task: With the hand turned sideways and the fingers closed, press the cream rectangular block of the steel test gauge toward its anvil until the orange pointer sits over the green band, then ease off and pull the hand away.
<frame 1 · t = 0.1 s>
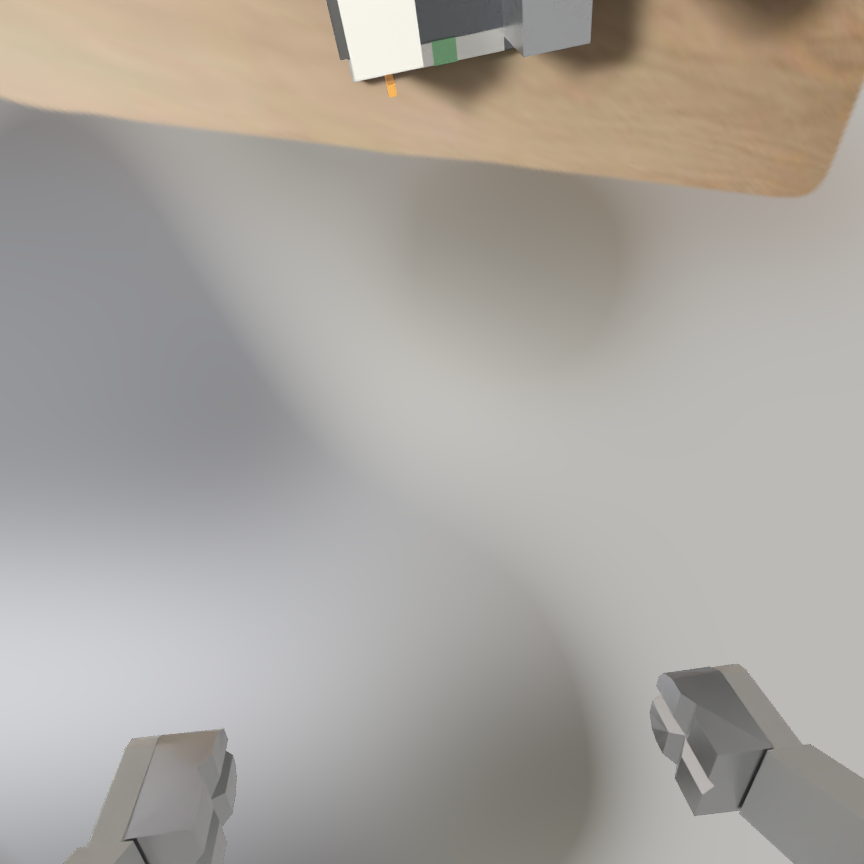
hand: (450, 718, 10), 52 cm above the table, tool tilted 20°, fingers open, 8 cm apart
cream rectangular block: (371, 9, 39), point 6 cm above the table, slide at 0.0 cm
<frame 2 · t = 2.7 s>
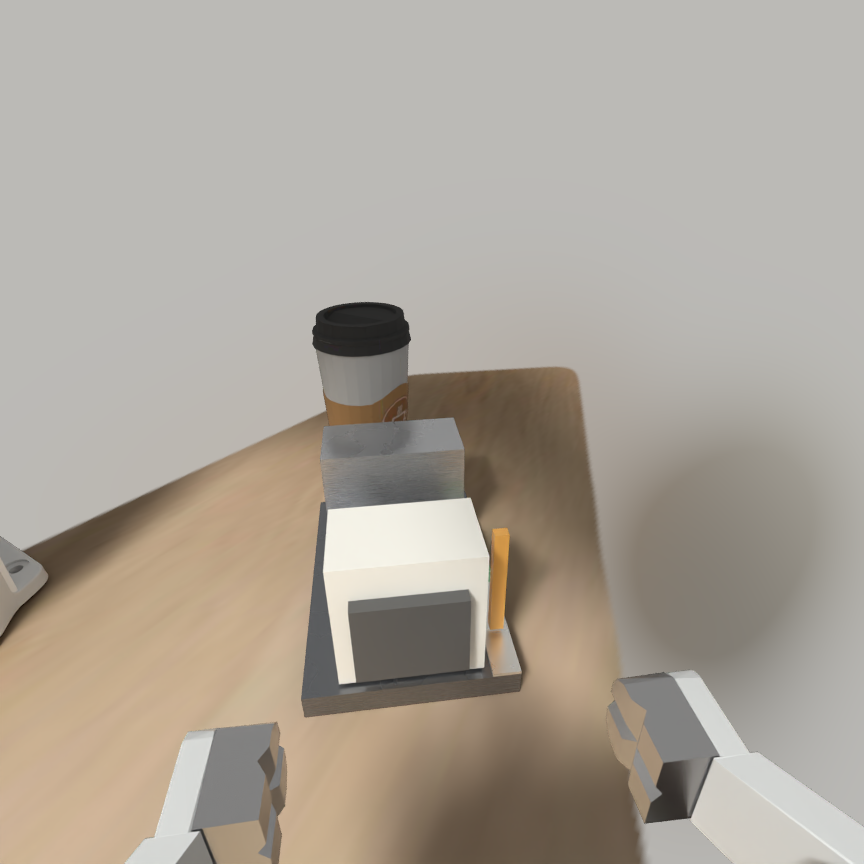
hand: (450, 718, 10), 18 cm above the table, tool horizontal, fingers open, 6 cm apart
coffee cup: (372, 468, 52), on the table
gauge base: (402, 587, 38), on the table
cream rectangular block: (421, 592, 30), point 6 cm above the table, slide at 0.0 cm
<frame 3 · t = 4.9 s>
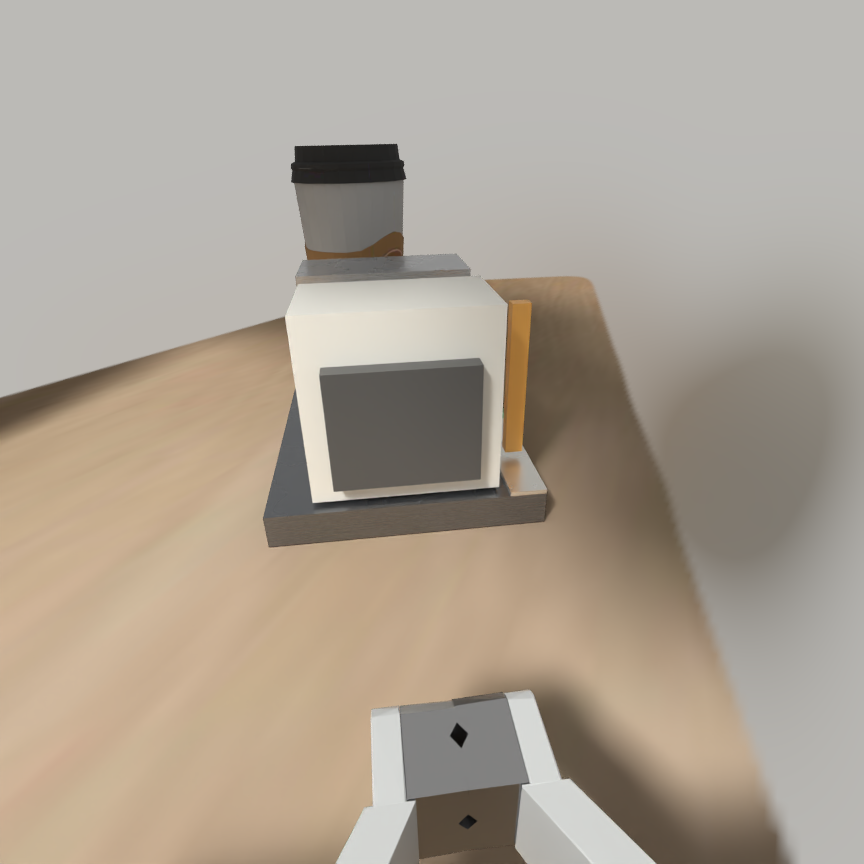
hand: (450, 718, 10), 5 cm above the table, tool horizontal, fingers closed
coffee cup: (363, 348, 46), on the table
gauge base: (396, 436, 31), on the table
cream rectangular block: (418, 388, 23), point 6 cm above the table, slide at 0.0 cm
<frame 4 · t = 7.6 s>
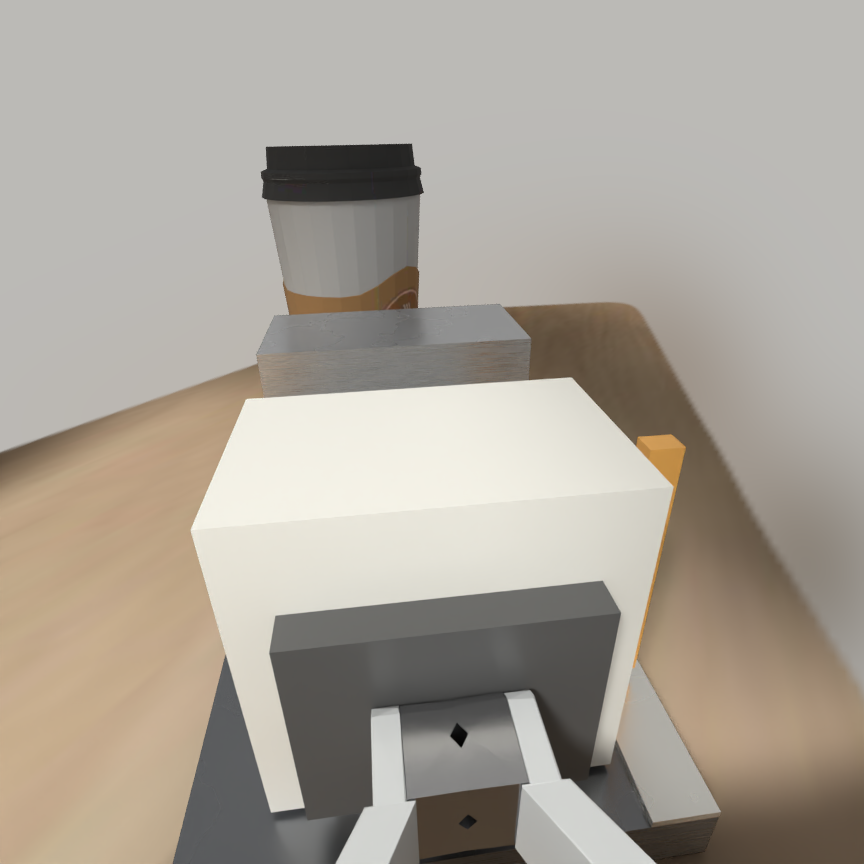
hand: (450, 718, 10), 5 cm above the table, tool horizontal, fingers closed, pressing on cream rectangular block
coffee cup: (363, 415, 35), on the table
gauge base: (415, 599, 20), on the table
cream rectangular block: (465, 591, 13), point 6 cm above the table, slide at 0.9 cm, touching gripper
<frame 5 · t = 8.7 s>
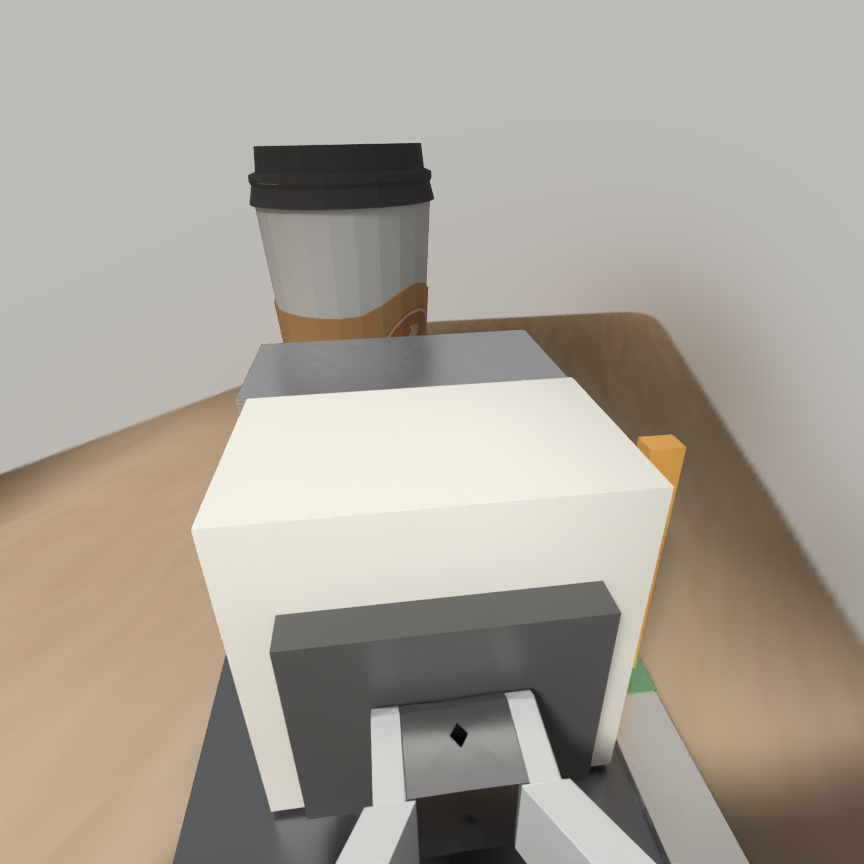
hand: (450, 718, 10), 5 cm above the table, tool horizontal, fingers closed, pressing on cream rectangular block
coffee cup: (365, 444, 31), on the table
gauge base: (428, 693, 17), on the table
cream rectangular block: (465, 591, 13), point 6 cm above the table, slide at 4.8 cm, touching gripper
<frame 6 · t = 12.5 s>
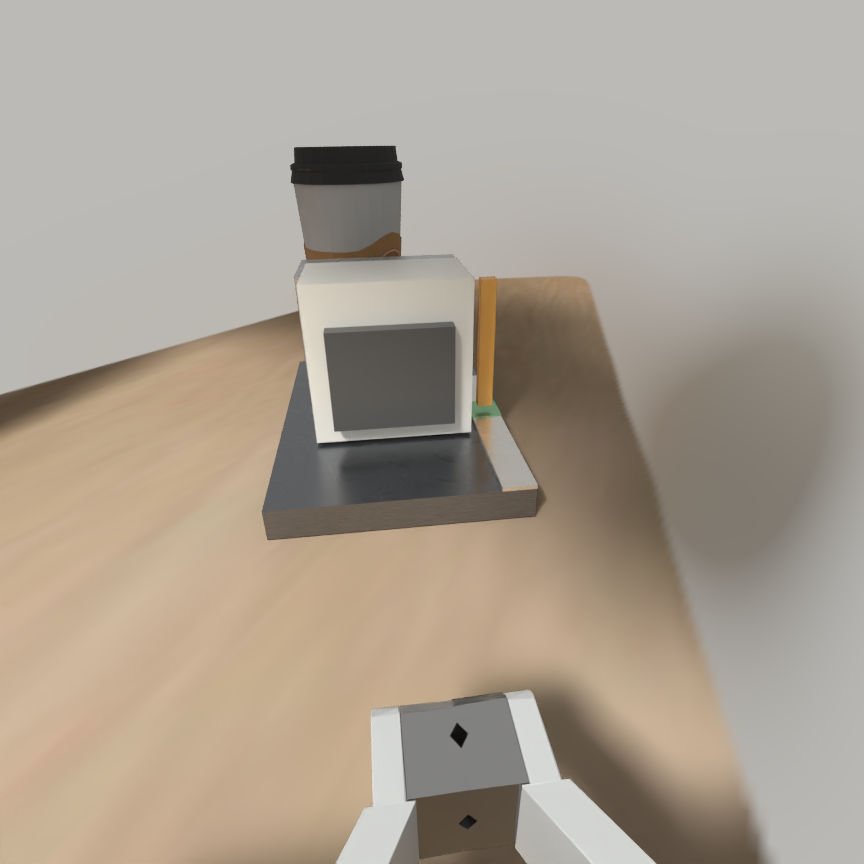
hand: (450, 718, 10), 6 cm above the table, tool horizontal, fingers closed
coffee cup: (361, 347, 46), on the table
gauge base: (392, 433, 32), on the table
cream rectangular block: (404, 349, 28), point 6 cm above the table, slide at 4.8 cm
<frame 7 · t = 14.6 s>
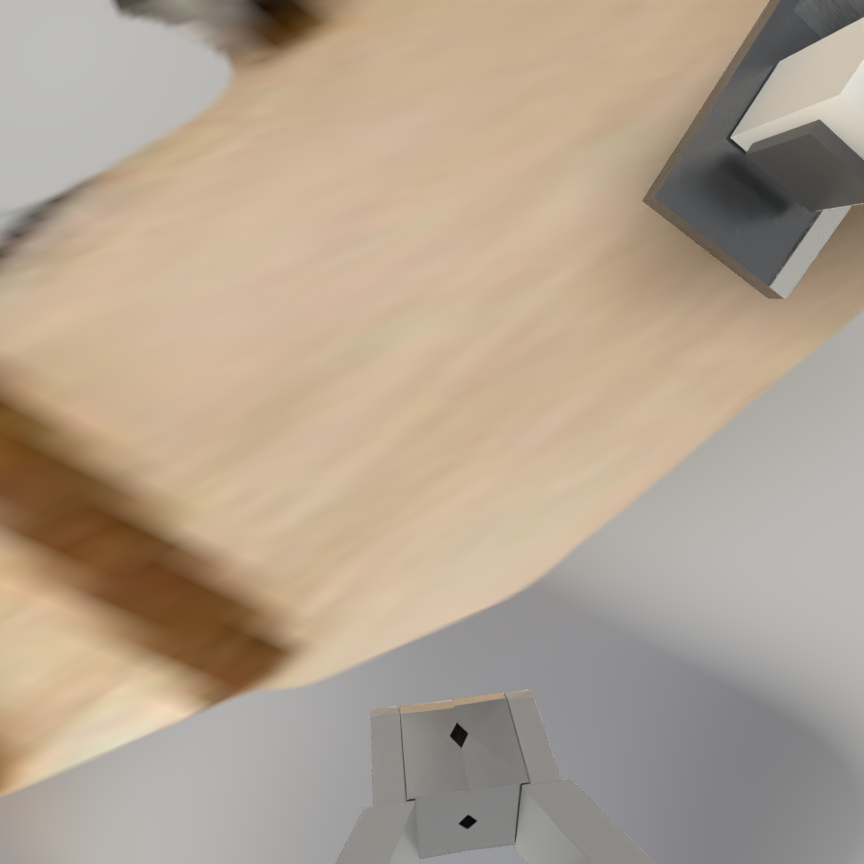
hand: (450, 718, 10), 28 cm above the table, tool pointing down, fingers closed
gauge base: (789, 129, 36), on the table
cream rectangular block: (858, 136, 31), point 6 cm above the table, slide at 4.8 cm
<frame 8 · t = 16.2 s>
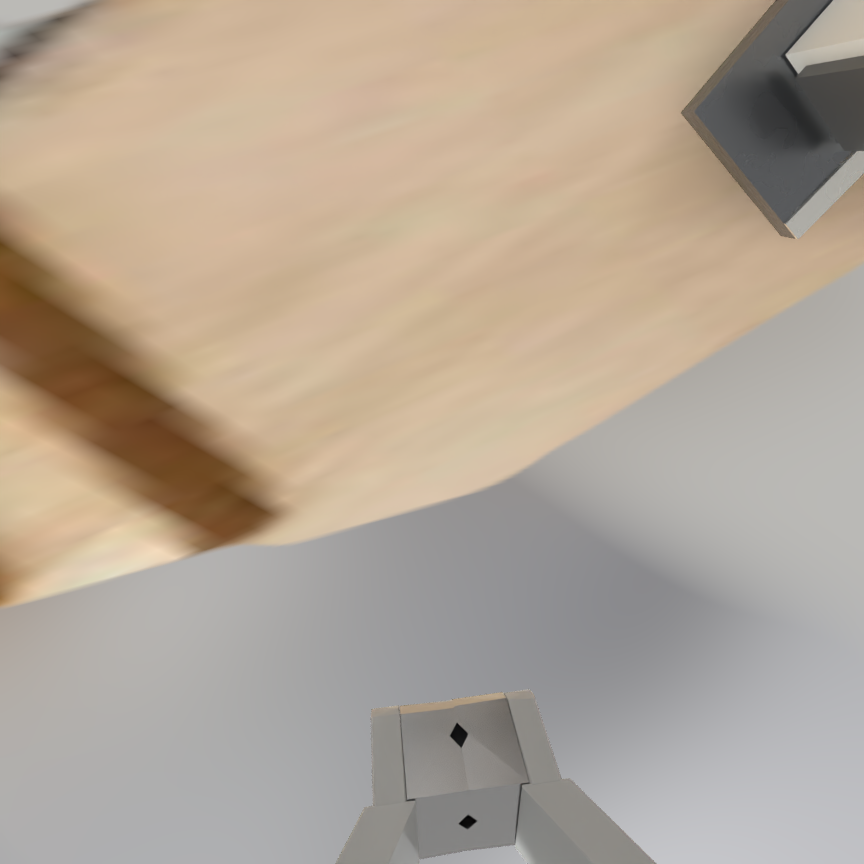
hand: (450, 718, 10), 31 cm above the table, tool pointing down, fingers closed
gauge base: (847, 54, 34), on the table
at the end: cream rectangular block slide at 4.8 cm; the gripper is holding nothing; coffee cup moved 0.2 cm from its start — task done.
